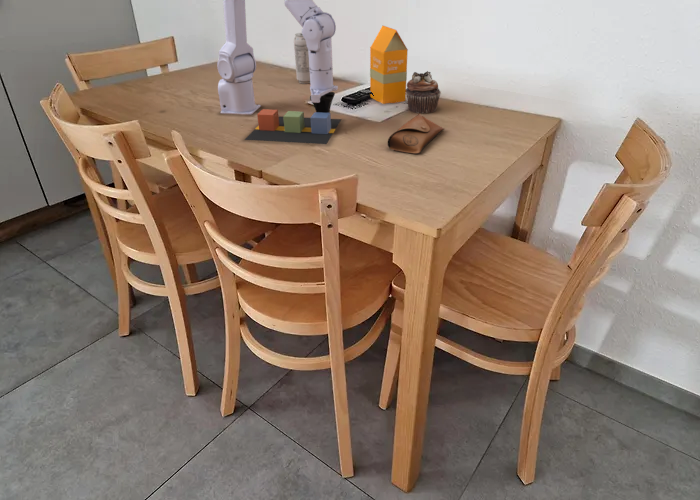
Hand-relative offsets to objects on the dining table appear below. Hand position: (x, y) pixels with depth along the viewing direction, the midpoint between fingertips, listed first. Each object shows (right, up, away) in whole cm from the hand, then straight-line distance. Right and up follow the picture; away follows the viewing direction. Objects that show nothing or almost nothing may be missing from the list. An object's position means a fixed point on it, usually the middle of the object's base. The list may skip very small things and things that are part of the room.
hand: (323, 122), depth 128 cm
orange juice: (+18, +12, +20) cm, 30 cm away
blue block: (0, -3, -2) cm, 4 cm away
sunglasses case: (+23, -6, -8) cm, 25 cm away
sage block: (-7, -2, -1) cm, 8 cm away
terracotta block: (-14, -1, 0) cm, 14 cm away
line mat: (-7, -2, -1) cm, 8 cm away
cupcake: (+28, +7, +12) cm, 31 cm away
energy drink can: (-8, +23, +38) cm, 46 cm away
